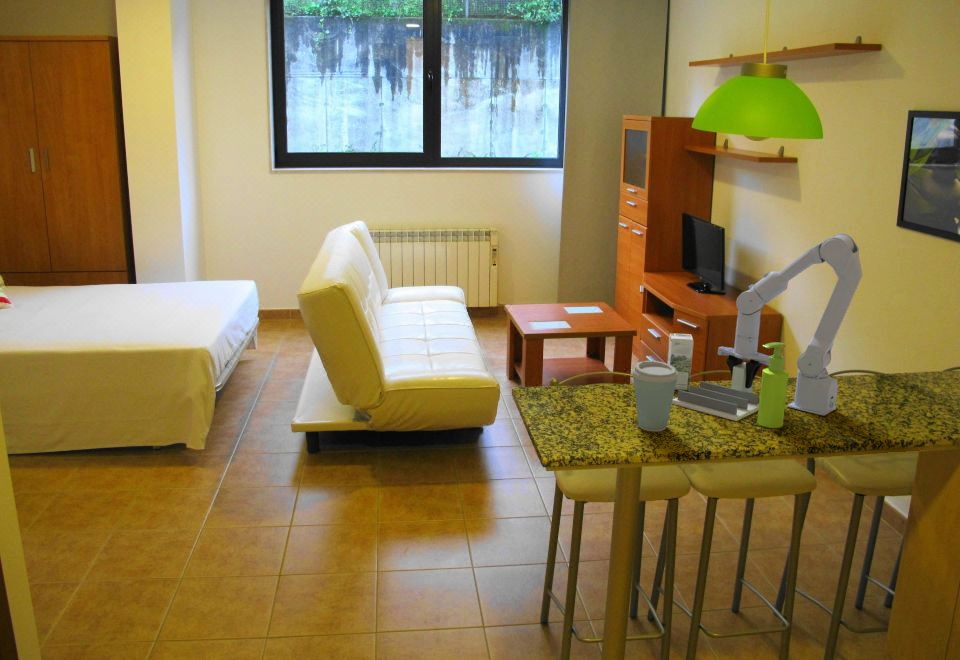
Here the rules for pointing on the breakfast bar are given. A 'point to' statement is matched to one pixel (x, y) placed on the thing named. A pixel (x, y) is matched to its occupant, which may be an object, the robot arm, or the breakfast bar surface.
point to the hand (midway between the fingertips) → (742, 386)
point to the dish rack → (718, 401)
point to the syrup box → (681, 358)
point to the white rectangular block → (740, 378)
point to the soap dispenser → (773, 389)
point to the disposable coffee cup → (654, 393)
